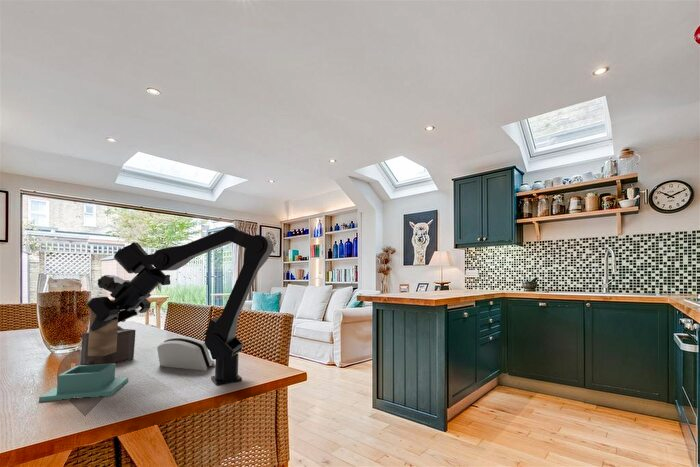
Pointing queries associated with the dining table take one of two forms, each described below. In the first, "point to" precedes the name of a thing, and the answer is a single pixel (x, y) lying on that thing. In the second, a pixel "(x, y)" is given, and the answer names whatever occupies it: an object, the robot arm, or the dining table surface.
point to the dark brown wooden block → (122, 354)
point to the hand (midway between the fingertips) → (98, 328)
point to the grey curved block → (184, 354)
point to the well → (86, 382)
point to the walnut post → (102, 338)
